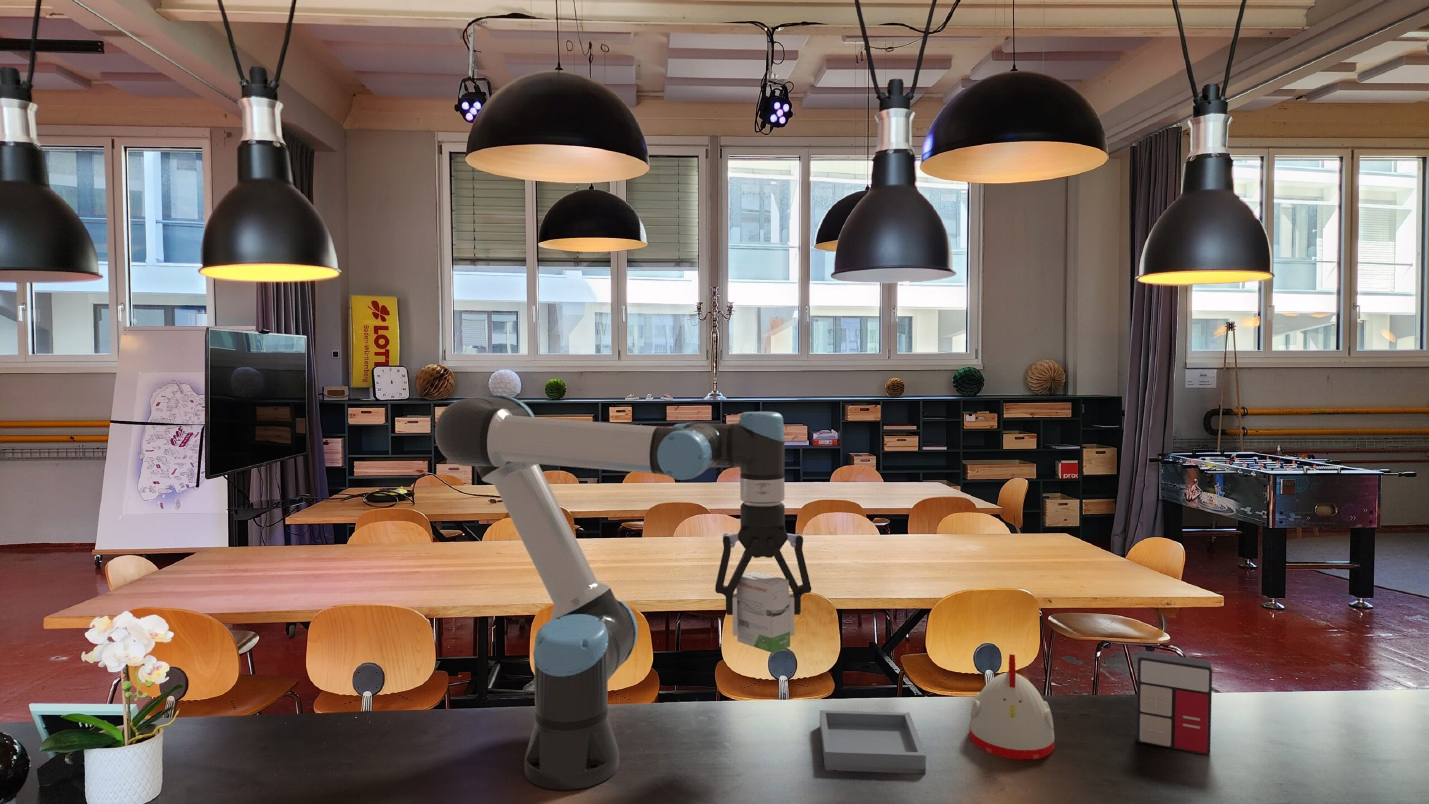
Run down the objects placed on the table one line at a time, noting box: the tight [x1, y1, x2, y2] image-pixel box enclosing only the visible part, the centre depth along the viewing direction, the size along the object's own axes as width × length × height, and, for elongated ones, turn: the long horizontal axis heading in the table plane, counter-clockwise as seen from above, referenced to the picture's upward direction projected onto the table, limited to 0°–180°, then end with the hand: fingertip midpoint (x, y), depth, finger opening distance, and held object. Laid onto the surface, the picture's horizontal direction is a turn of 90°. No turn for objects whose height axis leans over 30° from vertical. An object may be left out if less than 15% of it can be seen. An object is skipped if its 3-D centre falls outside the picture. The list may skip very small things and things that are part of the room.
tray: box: [819, 709, 927, 775], centre depth 138 cm, size 16×16×3 cm
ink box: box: [736, 571, 791, 654], centre depth 138 cm, size 9×5×12 cm, turn 43°
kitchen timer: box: [968, 653, 1055, 760], centre depth 141 cm, size 14×14×15 cm
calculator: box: [1135, 651, 1213, 756], centre depth 138 cm, size 11×4×15 cm, turn 62°
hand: (763, 632), depth 138 cm, fingers closed on ink box, 9 cm apart
